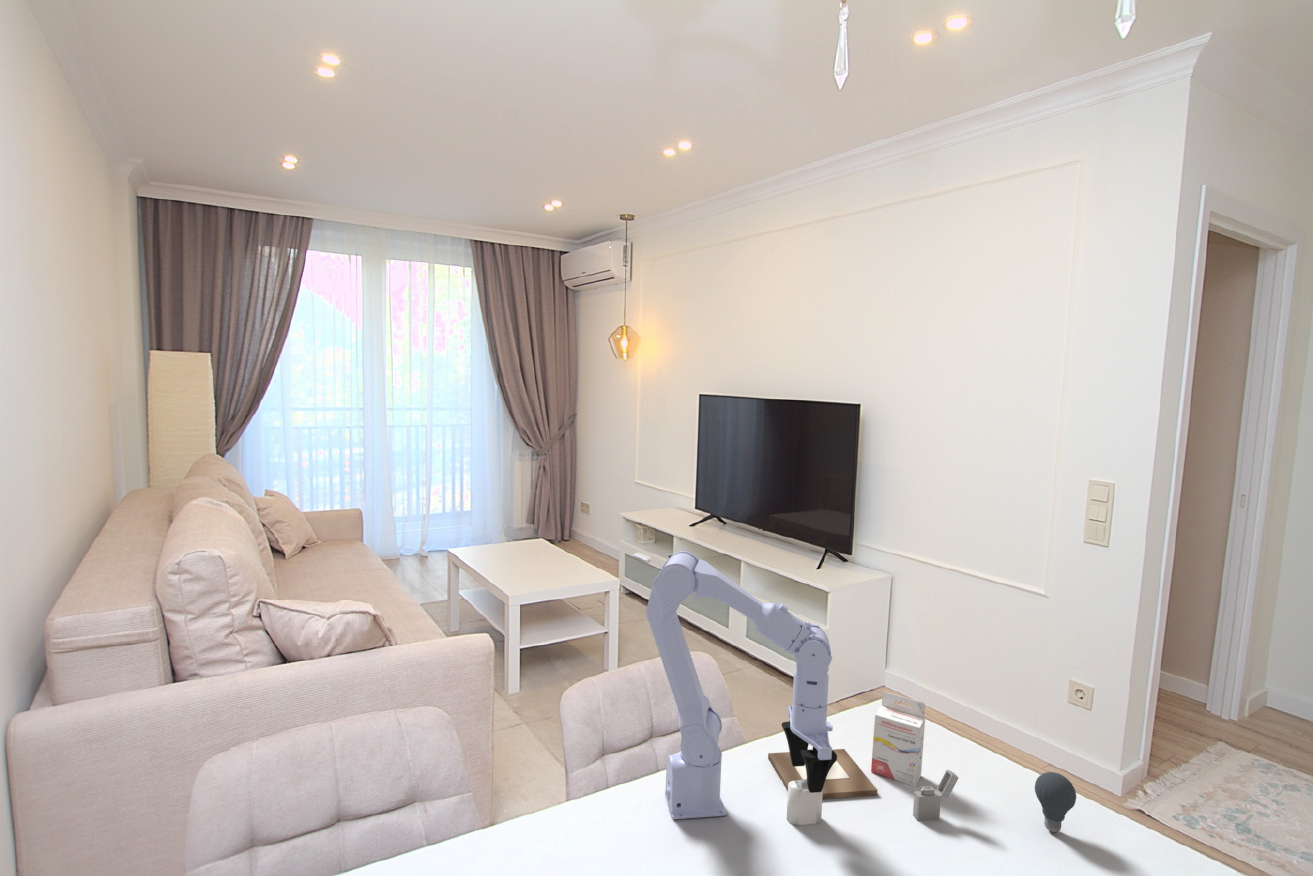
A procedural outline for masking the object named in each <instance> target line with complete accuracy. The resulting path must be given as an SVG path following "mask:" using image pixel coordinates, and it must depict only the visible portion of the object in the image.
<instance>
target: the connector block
mask: <svg viewBox="0 0 1313 876" xmlns="http://www.w3.org/2000/svg"><path fill="white" fill-rule="evenodd" d="M822 796H823V789H822V792H815V793H810V792H809V790H808V785H807V779H803V780H797V781H791V782H789V783H788V791H787V800H786V802H787V803H786V805H787V806H786V821H787V822H788V823H789V824H791V825H792V826H793V825H794V826H805V825H817V824H820V823H821V821H822V811H823V799H822Z"/></svg>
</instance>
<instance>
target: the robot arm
mask: <svg viewBox="0 0 1313 876" xmlns="http://www.w3.org/2000/svg"><path fill="white" fill-rule="evenodd" d="M693 592H695V595H694V599H698V600H699V599H704V598H710V597H711V598H712V597H713V598H715V599H716V600H718V601H720V602H721V603H722V604H724V605H727V606H728V607H730V608H731V609H733V610H735V611H736V612H738V613H740V614H742V615H743V616H744V617H746V618H749V619H750V620H751V621H753V623H754V628H755V632H757V633H758V634H760V635H761V636H763V637H764V638H766V639H768V641H770V642H772V643H773V644H775V645H776V646H778V647H779V648H781V649H782V650H784V651H785V652H786V653H789V654H792V655H793V656H794V659H795V669H794V672H793V683H792V684H793V687H792V705H788V706H787V717H788V718H789V719H790V720H789V721H783V722H782V723H781V728H782V729H783V732H784V734H785V737H786V740H787V744H788V745H787V746H788V750H789V751H788V752H790V758H791V762H792V765H793V767H796V766H804V765H805V767H806V773H807V785H808V790H809V792H810V793H815V792H822V789H823V786H824V783H825V780H826V777H827V775H828V772H829V770H830V769H831V767H832V765H833V764H834V763H835V762H836V761H837V754H836V753H835V752H834V751H833V750H834V749H833V748H832V746H831V744H830V738H829V732H833V728H834V727H833V725H832V724H831V723H830V722H828V721H827V718H828V701H829V699H828V695H829V674H828V673H829V667H830V665H831V662H832V661H833V656H832V652H831V645H830V642H829V638H828V636H827V634H826V632H825V631H824V630H823V629H822V628H821V627H820V626H819V625H817V624H813V623H811V622H810V621H808V620H807V621H806V622H805V621H803V620H802V619H800V618H799V617H797V616H796V615H794V614H792V612H790V611H789V610H788V609H789V608H788V606H787V605H785V603H780V604H777V603H775V602H762V601H760V600H759V599H758V598H756V597H755V596H753V595H752V594H750V593H749V592H748V591H747V590H745V589H744V588H742V587H741V586H740V585H738V584H737V583H735V582H734V581H732V579H730V578H728V577H727V576H726V575H724V574H722V573H721V571H719V570H717V569H716V568H715V567H714V566H712V565H711V564H710V563H709V562H708V561H707V560H703V559H701V558H699V559H698V558H697V556H695V555H694V554H693V553H691V552H689V551H685V550H684V551H677V552H674V553H673V554H672V555H670V556H669V558H668V559H667V561H666V562H665V563H664V565H663V566H662V568H661V569H660V571H659V573H658V574H657V575H656V577H655V578H654V579H653V581H652V588H651V591H650V595H649V598H648V601H647V602H648V603H647V605H646V611H645V612H646V617H647V620H648V623H649V626H650V629H651V633H652V635H653V638H654V642H655V644H656V647H657V650H658V653H659V657H660V659H661V662H662V666H663V668H664V672H665V673H666V674H665V675H666V677H667V680H668V681H667V682H668V683H669V686H670V690H671V693H672V695H673V699H674V703H676V704H675V705H676V708H677V714H678V716H677V717H678V730H679V731H680V735H681V737H680V738H681V739H680V751H679V752H676V753H673V754H669V755H668V756H667V757H666V768H665V769H666V771H665V774H666V775H665V790H664V794H665V798H666V801H667V805H668V808H669V812H670V816H671V818H672V819H673V820H683V819H685V820H686V819H697V818H698V819H699V818H712V817H723V816H727V810H726V807H725V805H724V803H723V801H722V797H721V783H722V781H721V780H722V758H723V757H722V756H723V754H722V750H721V749H720V746H719V739H720V736H721V735H720V734H721V732H722V728H723V723H722V719H721V716H720V714H718V712H717V711H716V710H715V709H714V708H713V706H712V705H711V703H710V699H709V698H708V697H707V696H706V694H704V692H703V688H702V686H701V683H700V680H699V676H698V673H697V669H696V666H695V664H694V661H693V658H692V655H691V652H690V649H689V647H688V643H687V640H686V638H685V634H684V631H683V628H682V624H681V622H680V620H679V619H680V618H679V615H678V613H677V610H678V609H679V607H680V605H681V603H683V602H684V601H686V600H687V599H688V598H689V597H690V596H691V595H692V594H693ZM809 746H811V747H812V748H811V749H809Z"/></svg>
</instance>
